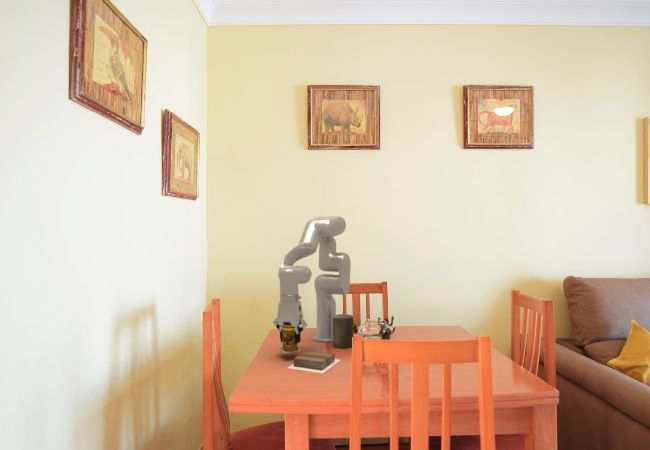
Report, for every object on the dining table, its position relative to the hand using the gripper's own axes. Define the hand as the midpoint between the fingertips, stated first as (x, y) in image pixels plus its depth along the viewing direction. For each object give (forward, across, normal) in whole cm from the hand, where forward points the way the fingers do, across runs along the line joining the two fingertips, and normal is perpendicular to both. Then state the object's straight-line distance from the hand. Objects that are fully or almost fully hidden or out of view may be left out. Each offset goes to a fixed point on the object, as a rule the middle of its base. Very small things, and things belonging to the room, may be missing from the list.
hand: (290, 341), depth 168 cm
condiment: (+4, 0, 0) cm, 4 cm away
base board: (+7, -12, +3) cm, 15 cm away
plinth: (+7, -12, +3) cm, 14 cm away
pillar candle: (+9, -12, -28) cm, 31 cm away
